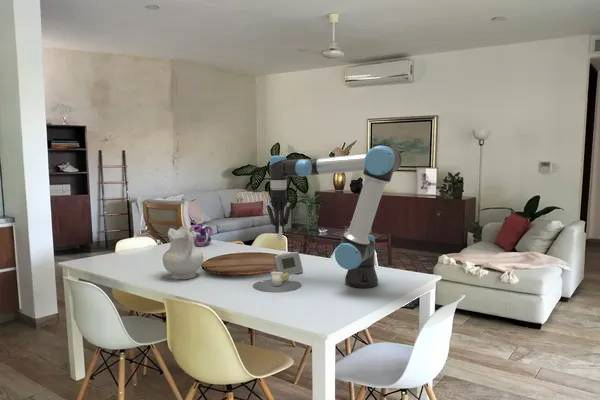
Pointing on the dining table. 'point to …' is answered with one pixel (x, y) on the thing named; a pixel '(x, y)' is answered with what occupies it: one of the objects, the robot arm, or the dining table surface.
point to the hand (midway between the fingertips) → (279, 239)
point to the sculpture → (202, 234)
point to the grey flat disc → (285, 287)
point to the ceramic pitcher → (182, 254)
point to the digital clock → (288, 263)
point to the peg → (279, 278)
